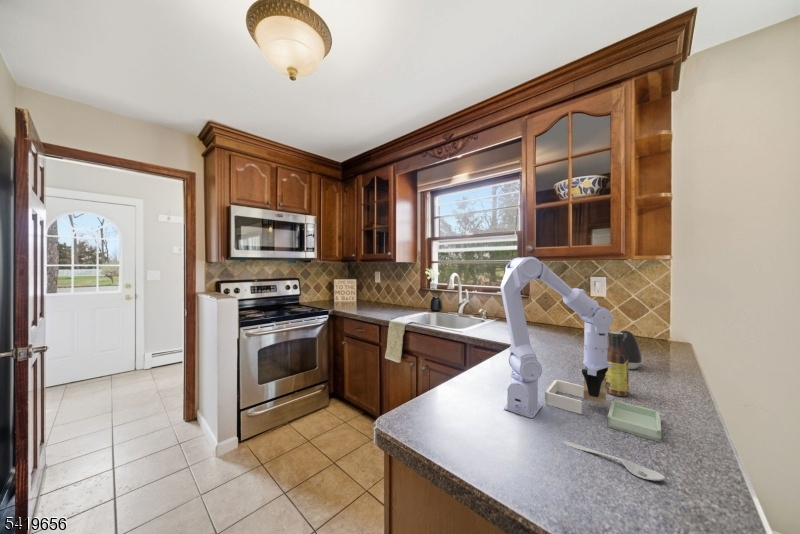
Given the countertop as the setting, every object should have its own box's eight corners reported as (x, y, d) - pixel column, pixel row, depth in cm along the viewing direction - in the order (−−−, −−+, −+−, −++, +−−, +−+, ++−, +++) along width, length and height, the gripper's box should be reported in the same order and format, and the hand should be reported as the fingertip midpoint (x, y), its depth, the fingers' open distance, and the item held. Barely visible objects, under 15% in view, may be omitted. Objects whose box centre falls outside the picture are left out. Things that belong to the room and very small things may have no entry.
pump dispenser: (604, 365, 123) (604, 329, 123) (619, 361, 127) (619, 327, 127) (632, 373, 114) (632, 334, 113) (646, 369, 118) (647, 332, 118)
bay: (581, 414, 82) (581, 401, 82) (544, 403, 88) (544, 392, 88) (588, 398, 92) (588, 387, 92) (555, 389, 98) (555, 379, 98)
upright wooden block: (608, 405, 81) (609, 383, 81) (583, 398, 85) (583, 378, 85) (610, 399, 85) (610, 379, 85) (585, 393, 89) (586, 373, 89)
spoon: (663, 491, 55) (664, 482, 55) (548, 441, 70) (548, 434, 70) (666, 480, 57) (666, 472, 57) (554, 434, 73) (554, 428, 73)
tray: (661, 442, 69) (661, 432, 69) (607, 426, 76) (607, 417, 76) (659, 420, 79) (659, 411, 79) (611, 408, 86) (612, 399, 86)
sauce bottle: (632, 398, 92) (633, 335, 92) (610, 396, 93) (611, 334, 93) (621, 389, 98) (622, 331, 98) (600, 388, 100) (601, 330, 100)
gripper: (610, 355, 77) (609, 406, 77) (614, 344, 88) (613, 389, 88) (579, 350, 82) (578, 398, 82) (587, 340, 93) (586, 382, 93)
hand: (594, 393), depth 85 cm, fingers closed on upright wooden block, 4 cm apart
